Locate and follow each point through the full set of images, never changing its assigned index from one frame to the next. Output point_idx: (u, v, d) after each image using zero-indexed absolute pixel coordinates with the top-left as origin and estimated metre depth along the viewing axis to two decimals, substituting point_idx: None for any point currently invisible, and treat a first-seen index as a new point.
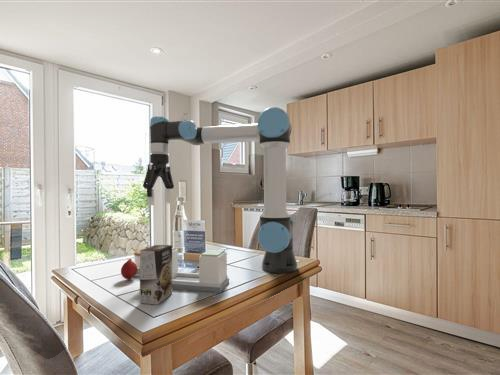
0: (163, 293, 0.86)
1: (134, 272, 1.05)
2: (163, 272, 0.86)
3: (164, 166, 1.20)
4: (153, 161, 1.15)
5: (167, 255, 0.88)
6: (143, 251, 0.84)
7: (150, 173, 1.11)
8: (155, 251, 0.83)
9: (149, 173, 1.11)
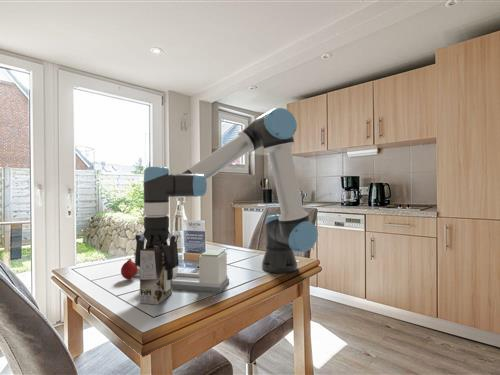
0: (163, 293, 0.86)
1: (134, 272, 1.05)
2: (163, 272, 0.86)
3: (160, 232, 0.86)
4: None
5: None
6: (143, 251, 0.84)
7: None
8: (155, 251, 0.83)
9: None
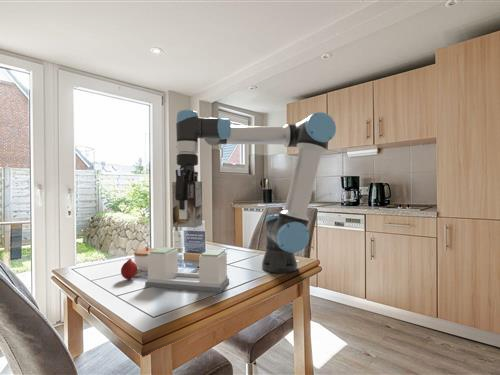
0: None
1: (134, 272, 1.05)
2: None
3: (192, 168, 1.03)
4: (181, 162, 0.97)
5: None
6: (196, 182, 0.98)
7: (180, 181, 0.94)
8: (200, 182, 1.02)
9: (179, 181, 0.95)
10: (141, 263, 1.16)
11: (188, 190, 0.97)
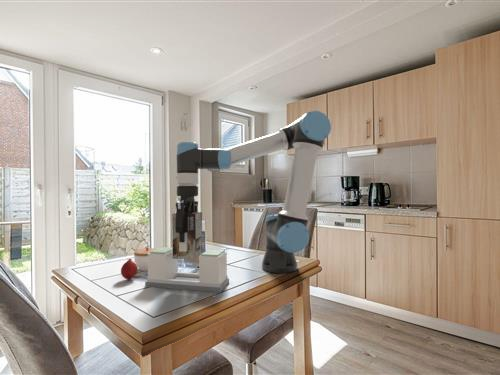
0: None
1: (134, 272, 1.05)
2: None
3: (192, 199, 1.03)
4: (181, 195, 0.97)
5: None
6: (196, 214, 0.98)
7: (180, 215, 0.94)
8: (200, 213, 1.02)
9: (180, 214, 0.94)
10: (141, 263, 1.16)
11: (188, 222, 0.97)
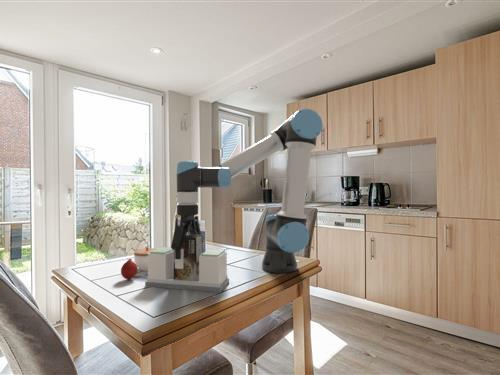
0: None
1: (134, 272, 1.05)
2: None
3: (192, 217, 1.03)
4: (181, 214, 0.97)
5: None
6: (197, 237, 0.98)
7: (179, 231, 0.93)
8: (201, 235, 1.02)
9: (178, 230, 0.93)
10: (141, 263, 1.16)
11: (189, 245, 0.98)
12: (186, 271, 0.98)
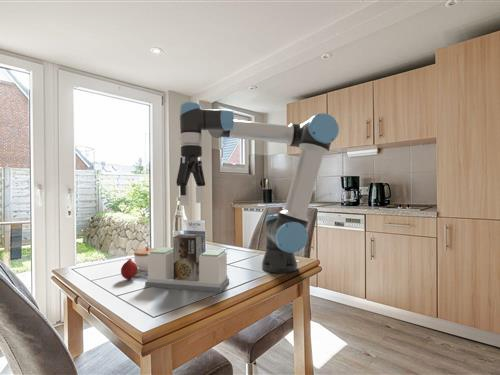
0: None
1: (134, 272, 1.05)
2: None
3: (196, 160, 1.04)
4: (185, 154, 0.99)
5: None
6: (197, 237, 0.98)
7: (184, 167, 0.95)
8: (201, 235, 1.02)
9: (183, 167, 0.95)
10: (141, 263, 1.16)
11: (189, 246, 0.97)
12: (186, 271, 0.98)
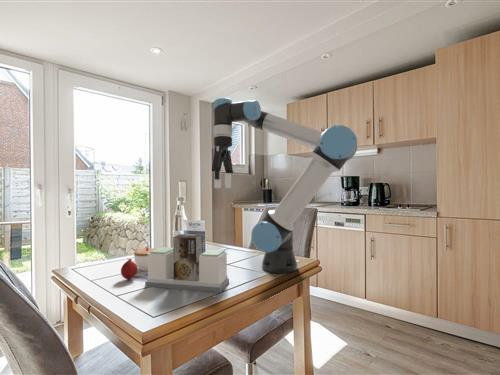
0: None
1: (134, 272, 1.05)
2: None
3: (227, 149, 1.18)
4: (218, 143, 1.12)
5: None
6: (197, 237, 0.98)
7: (218, 155, 1.08)
8: (201, 235, 1.02)
9: (217, 155, 1.08)
10: (141, 263, 1.16)
11: (189, 246, 0.97)
12: (186, 271, 0.98)
